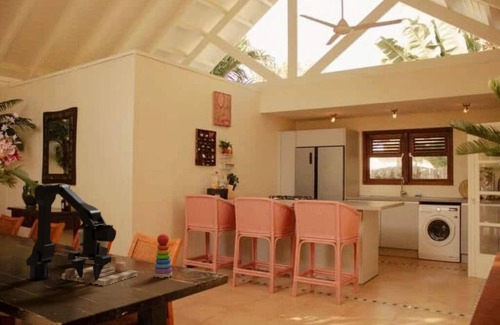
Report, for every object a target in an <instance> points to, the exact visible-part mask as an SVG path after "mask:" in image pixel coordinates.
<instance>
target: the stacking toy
mask: <svg viewBox="0 0 500 325" xmlns="http://www.w3.org/2000/svg"><path fill="white" fill-rule="evenodd" d="M156 241H157V243H158V245H157V246H156V247H157V251H156V255H155V258H156V259H155V264H154V266H155V268H154V274H153V276H154V277H155V278H157V277H159V279H165V278H164V277H168V278H170V276H171V277H172V275H173V272H172V271H173V268H172V264H171V258H170V256H171V255H170V249H169V246H170V245H169V244H168V243H169V241H170V237H169V236H168V235H167V234H166V233H162V234H161V233H160V234H159V235H158V236H157V238H156Z"/></svg>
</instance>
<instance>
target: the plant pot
mask: <svg viewBox="0 0 500 325" xmlns="http://www.w3.org/2000/svg"><path fill="white" fill-rule="evenodd" d="M77 236H78V243H79V249H80V250H79V251H82V246H80V243H82V242H83V229H79V230H78V231H77ZM98 242H100V246H102V247H106V248H107V244H108V242H105V241H98ZM97 256H99V255H97ZM84 264H86V265H92V264H95V263H94V261H93V260H87V259H86V261H85V263H84Z"/></svg>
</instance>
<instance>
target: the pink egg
mask: <svg viewBox="0 0 500 325" xmlns="http://www.w3.org/2000/svg"><path fill="white" fill-rule="evenodd" d="M114 268H115V271H116V272H122V271H125V269H126V262H125V261H115V262H114Z"/></svg>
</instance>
